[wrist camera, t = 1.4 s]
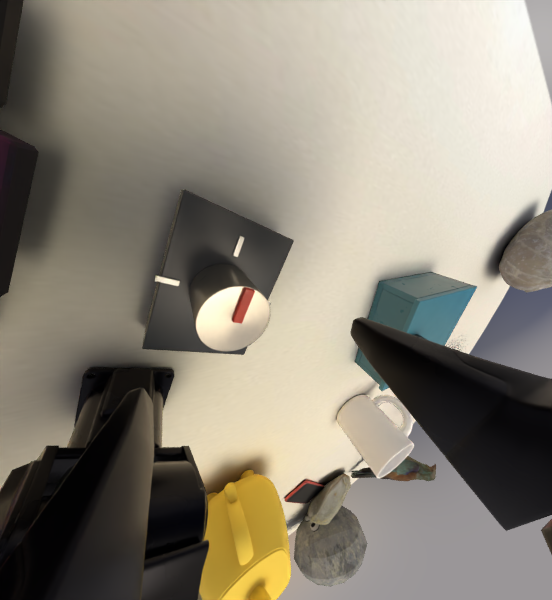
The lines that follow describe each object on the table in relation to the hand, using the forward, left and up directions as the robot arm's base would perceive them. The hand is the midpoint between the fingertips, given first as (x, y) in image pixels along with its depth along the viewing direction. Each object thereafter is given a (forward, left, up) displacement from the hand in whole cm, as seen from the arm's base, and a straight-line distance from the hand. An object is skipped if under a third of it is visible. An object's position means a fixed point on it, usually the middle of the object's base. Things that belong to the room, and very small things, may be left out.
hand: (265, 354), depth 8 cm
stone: (-55, -42, -6) cm, 70 cm away
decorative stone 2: (+24, -57, -11) cm, 62 cm away
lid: (0, -29, -6) cm, 29 cm away
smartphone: (-51, -40, -11) cm, 65 cm away
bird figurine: (-42, -65, -11) cm, 78 cm away
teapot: (-39, -15, -9) cm, 43 cm away
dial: (-1, 0, -8) cm, 8 cm away
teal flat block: (0, -29, -11) cm, 31 cm away
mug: (-19, -36, -11) cm, 42 cm away
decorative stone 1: (-67, -53, -1) cm, 86 cm away
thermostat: (-1, 0, -11) cm, 11 cm away
